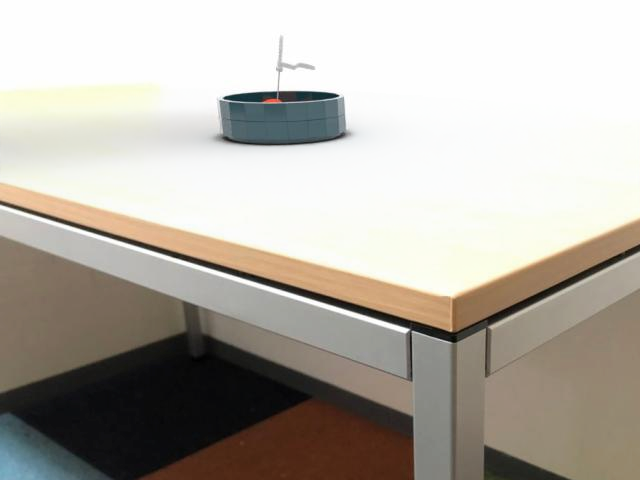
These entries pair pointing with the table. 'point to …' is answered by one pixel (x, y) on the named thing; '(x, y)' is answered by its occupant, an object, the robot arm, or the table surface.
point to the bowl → (282, 116)
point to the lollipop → (286, 65)
